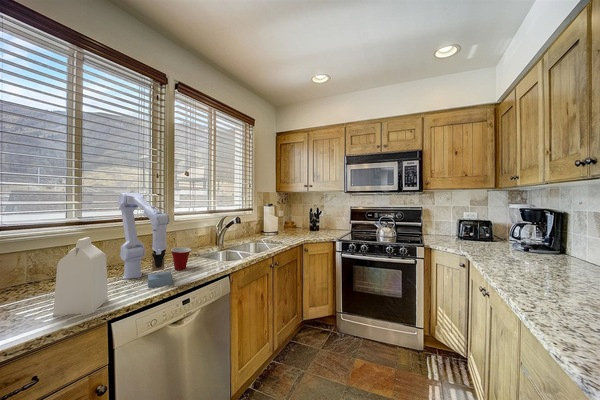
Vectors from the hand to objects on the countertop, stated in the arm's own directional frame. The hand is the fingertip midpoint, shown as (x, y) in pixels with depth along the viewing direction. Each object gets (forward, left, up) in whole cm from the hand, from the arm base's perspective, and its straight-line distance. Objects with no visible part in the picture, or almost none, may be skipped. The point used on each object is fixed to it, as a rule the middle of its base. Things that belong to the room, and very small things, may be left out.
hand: (158, 266), depth 120 cm
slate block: (0, +1, -9) cm, 9 cm away
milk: (+18, -24, -9) cm, 31 cm away
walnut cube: (0, 0, -2) cm, 2 cm away
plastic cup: (-21, +11, -9) cm, 25 cm away
